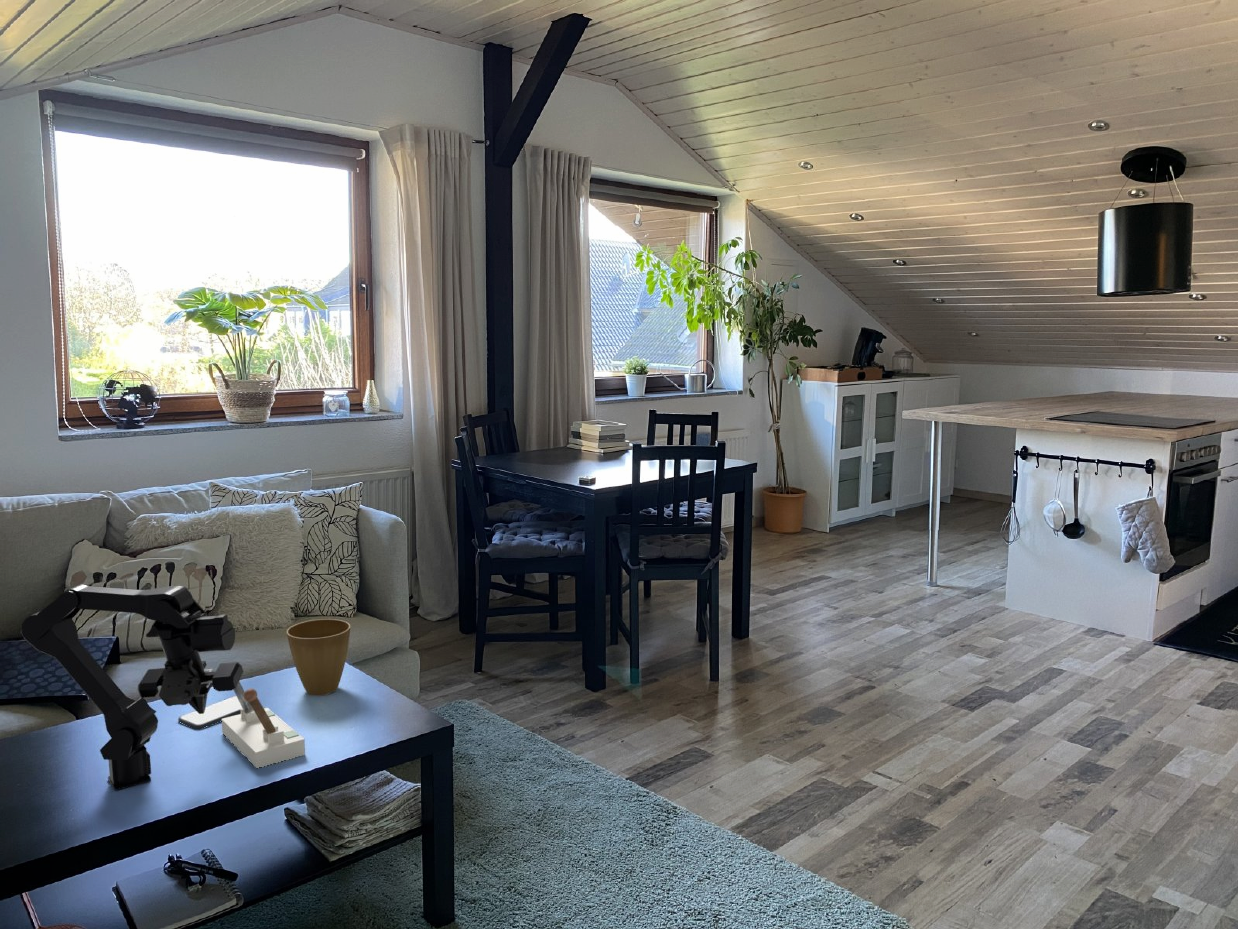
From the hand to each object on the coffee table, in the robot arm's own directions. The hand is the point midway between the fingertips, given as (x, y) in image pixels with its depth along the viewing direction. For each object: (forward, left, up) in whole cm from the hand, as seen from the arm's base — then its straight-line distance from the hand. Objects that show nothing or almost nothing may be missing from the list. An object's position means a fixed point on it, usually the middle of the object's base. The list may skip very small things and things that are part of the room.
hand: (202, 712), depth 190 cm
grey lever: (+13, +11, -7) cm, 18 cm away
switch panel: (+13, +4, -12) cm, 18 cm away
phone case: (+11, +27, -12) cm, 31 cm away
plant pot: (+35, +26, -12) cm, 45 cm away
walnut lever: (+13, -3, -7) cm, 15 cm away
